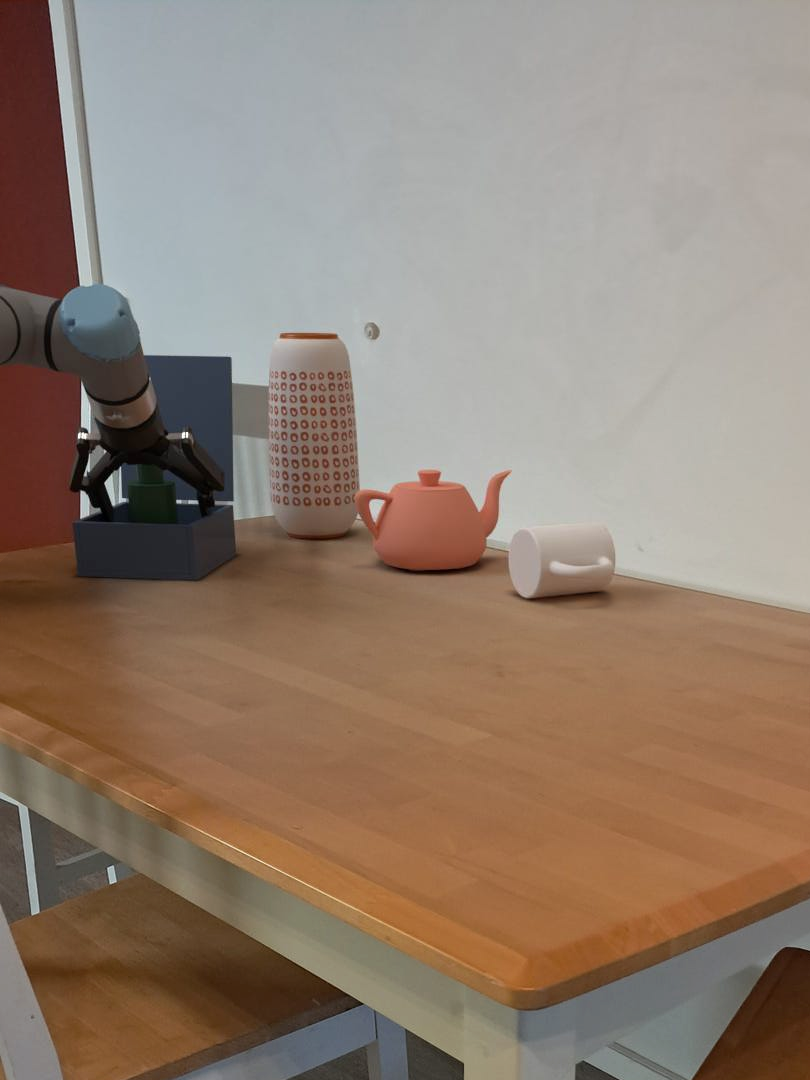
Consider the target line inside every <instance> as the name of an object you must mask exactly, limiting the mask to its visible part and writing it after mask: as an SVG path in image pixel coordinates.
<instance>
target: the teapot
mask: <svg viewBox="0 0 810 1080" xmlns="http://www.w3.org/2000/svg"><path fill="white" fill-rule="evenodd" d="M512 471H513V470H512V469H509V470H505V471H502V472H499V473H497V474H495V475H494V476H492V477H491V479H490V480H489V482H488V484H487V487H486V492H485V499H484V503H483V506H482V507H481V509H480V510H479V509H478V506H477V505H476V503H475V502H474V500H473V497H472V496H471V494H470V492H469V491H468V489H467V488H466V487H465V485H464V484H461V483H458V482H453V481H443V480H441V481H440V478H441V476H442V471H440V470H438V469H420V470H418V471H417V476H418V479H419V480H416V481H403V482H398V483H395V484H394V485H393V486H392V488H391V489H390V491H389V492H383V491H379V490H374V489H360V491H358V492H357V493H356V494H355V497H354V499H355V506H356V509H357V512H358V515H359V517H360V519H361V521H362V523H363V524H364V525H365V527H366V528H367V530H368V532H369V533H370V534H371V535H372V547H373V549H374V551H375V553H376V554H377V555H378V557H379V558H380V559H381V560H382V561H383V563H384V564H386V565H388V566H391V567H394V568H400V569H405V570H408V571H412V572H422V571H423V572H424V571H438V570H439V571H440V570H453V569H454V570H455V569H456V570H457V569H459V570H461V569H465V568H466V567H471V566H473V565H475V564H476V563H477V562H478V561H479V560H480V559H481V557H482V556H483V554H484V553H485V551H486V549H487V538H488V537H489V536H491V534H492V533H493V532H494V530H495V529H496V527H497V524H498V522H499V516H500V492H501V488H502V485H503V482H504V481H505V479H506V478H507V477H508V476H509V475H510V474H511V473H512ZM372 500H373V501H374V500H381V501H383V504H382V505H381V508H380V510H379V512H378V514H377V517H376V520H375V521H374V518H373V516H372V511H371V508H370V502H371V501H372Z"/></svg>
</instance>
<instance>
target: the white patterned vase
mask: <svg viewBox="0 0 810 1080" xmlns="http://www.w3.org/2000/svg"><path fill="white" fill-rule="evenodd" d="M348 351H349V350H348V348H347V346H346V344H345V342H344V341H343V340H342V339H340V338H339V335H338V333H332V332H331V333H330V332H281V333H279V338H277V339H276V340H275V341H274V342H273V344H272V346H271V350H270V354H269V355H270V356H269V371H268V373H269V374H268V451H269V452H268V460H269V461H268V462H269V463H268V464H269V465H268V466H269V495H270V496H269V497H270V504H271V505H270V506H271V510H272V513H273V515H274V518H275V520H276V521H277V523H278V524H279V525H280V527H281V528H282V529H283V530H284V531H285V532H286V534H287V535H288V536H289V537H291V538H297V539H303V540H326V539H335V538H340V537H343V536H345V535H347V533H348V531H349V530H350V529H351V527H352V526H353V525H354V523H355V521H356V519H357V517H358V515H359V514H358V512H357V509H356V506H355V499H354V497H355V494H356V493H357V492H358V491H360V490H361V489H360V488H361V486H360V471H359V470H360V469H359V451H358V450H359V449H358V433H357V420H356V419H357V418H356V406H355V396H354V386H353V377H352V369H351V362H350V354H349V352H348Z"/></svg>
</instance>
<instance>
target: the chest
mask: <svg viewBox="0 0 810 1080" xmlns="http://www.w3.org/2000/svg"><path fill="white" fill-rule="evenodd" d="M112 506H113V509H114V521H113V522H105V521H104V518H103V515H102V513H101V510H99V511H96V512H94V513H92V514H89V515H87V516H85V517H82V518H79V519H76V520H74V521H72V522H71V525H72V526H71V527H72V533H73V542H74V548H75V549H74V550H75V560H76V568H77V576H78V577H83V578H84V577H86V578H87V577H88V578H113V579H114V578H115V579H116V578H117V579H143V580H145V579H146V580H171V581H198V580H200V579H201V578H203V577H204V576H206V575H208V574H209V573H210V572H212V571H214V570H215V569H217V568H218V567H220V566H222V564H225V563H226V562H228V561H229V560H231V559H233V558H234V557H236V556H237V547H236V546H237V545H236V531H235V529H236V528H235V515H234V513H235V511H234V504H220V503H219V504H216V503H215V506H214V507H210V509H211V514H209V515H207V516H205V517H203V518H202V516H201V512H200V508H199V504H198V503H182V502H181V503H180V502H177V515H178V524H149V523H131V521H130V511H129V501H122V502H119V503H116V504H114V505H112Z"/></svg>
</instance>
